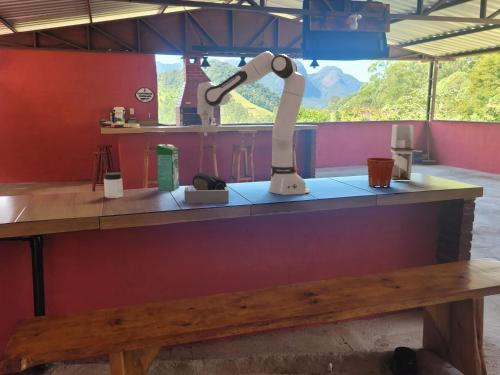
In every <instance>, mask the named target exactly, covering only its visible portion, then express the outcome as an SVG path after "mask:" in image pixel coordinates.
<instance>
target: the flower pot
mask: <svg viewBox="0 0 500 375" xmlns="http://www.w3.org/2000/svg"><path fill="white" fill-rule="evenodd" d="M365 159H366V166H367V173H368V174H367V177H368V186H369V185H371V186H380V187H384V186H391V183H392V181H391V176H392V170H393V166H394V161H395V159H392V157H391V158H388V157H367V158H365ZM371 186H370V187H371Z"/></svg>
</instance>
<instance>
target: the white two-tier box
mask: <svg viewBox="0 0 500 375" xmlns="http://www.w3.org/2000/svg"><path fill="white" fill-rule="evenodd" d="M391 126H392V130H391V142H390V152H391V153H392V156H391V159H395V161H394V166H393V170H392V176H391V179H392V180H410V181H411V178H412V177H411V176H412V165H413V164H412V163H413V151H414V140H415V138H414V137H415V125H414V124H413V125H412V124H392V125H391Z"/></svg>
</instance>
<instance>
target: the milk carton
mask: <svg viewBox="0 0 500 375" xmlns="http://www.w3.org/2000/svg"><path fill="white" fill-rule="evenodd" d="M179 167H180V166H179V148H178V147H175V145H173V144H170V143H168V144H165V143H161V144H156V173H157V191H167V190H168V191H170V192H171V191H172V192H173V191H175V189H176V190H177V189H179V188H180V176H179V175H180V171H179V169H180V168H179Z"/></svg>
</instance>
